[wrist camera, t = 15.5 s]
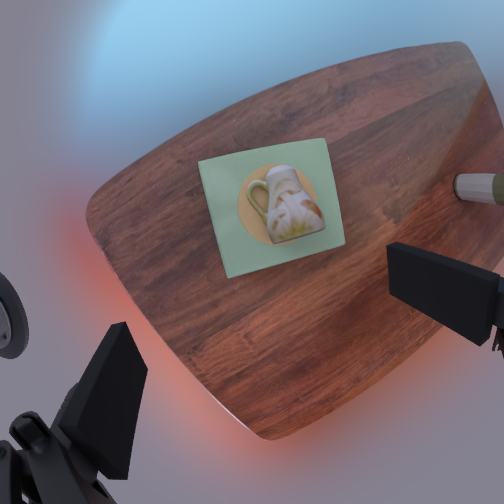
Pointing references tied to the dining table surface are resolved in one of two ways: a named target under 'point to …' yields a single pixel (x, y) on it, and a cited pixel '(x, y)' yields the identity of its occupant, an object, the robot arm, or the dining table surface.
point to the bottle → (480, 187)
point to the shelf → (267, 204)
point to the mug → (287, 206)
